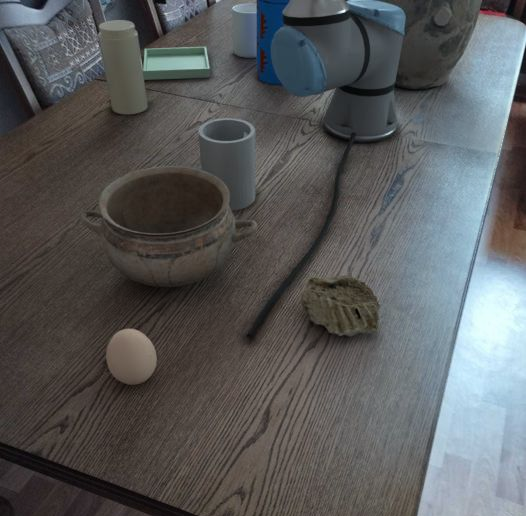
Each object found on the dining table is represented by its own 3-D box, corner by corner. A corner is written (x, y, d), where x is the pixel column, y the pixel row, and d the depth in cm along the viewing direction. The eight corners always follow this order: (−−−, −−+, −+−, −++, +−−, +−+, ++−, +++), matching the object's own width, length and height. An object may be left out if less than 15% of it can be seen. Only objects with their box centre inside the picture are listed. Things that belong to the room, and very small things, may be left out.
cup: (195, 204, 95) (189, 137, 87) (216, 180, 101) (212, 114, 93) (243, 214, 93) (242, 147, 85) (262, 189, 99) (262, 123, 90)
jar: (147, 113, 121) (135, 30, 109) (110, 115, 121) (94, 31, 109) (148, 99, 127) (136, 18, 115) (112, 100, 126) (98, 19, 114)
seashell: (367, 360, 74) (390, 296, 77) (374, 343, 67) (398, 273, 70) (289, 333, 76) (314, 272, 79) (288, 313, 69) (315, 247, 72)
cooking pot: (72, 305, 77) (48, 231, 68) (111, 229, 90) (95, 159, 81) (250, 318, 75) (249, 244, 66) (263, 239, 88) (264, 168, 80)
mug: (266, 44, 154) (267, 0, 146) (264, 59, 146) (264, 13, 138) (236, 43, 154) (235, -1, 147) (231, 58, 146) (230, 12, 138)
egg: (131, 354, 70) (121, 310, 65) (169, 370, 68) (161, 326, 63) (102, 385, 67) (89, 340, 61) (141, 402, 65) (130, 358, 59)
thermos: (300, 69, 141) (307, -50, 123) (298, 85, 133) (305, -39, 115) (258, 67, 141) (259, -51, 123) (254, 83, 134) (253, -41, 116)
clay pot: (381, 58, 147) (402, -83, 125) (468, 72, 140) (506, -75, 119) (354, 87, 133) (373, -67, 111) (449, 104, 126) (489, -56, 104)
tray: (210, 77, 136) (209, 68, 135) (144, 80, 135) (143, 71, 133) (206, 55, 148) (206, 46, 146) (145, 57, 146) (144, 48, 145)
